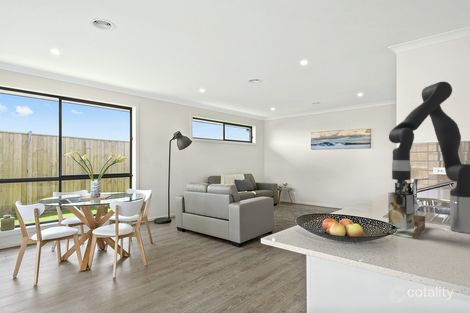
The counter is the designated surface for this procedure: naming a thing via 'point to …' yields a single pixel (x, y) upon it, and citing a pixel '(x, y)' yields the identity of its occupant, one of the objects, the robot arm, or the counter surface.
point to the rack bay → (420, 224)
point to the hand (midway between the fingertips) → (401, 203)
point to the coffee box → (401, 211)
